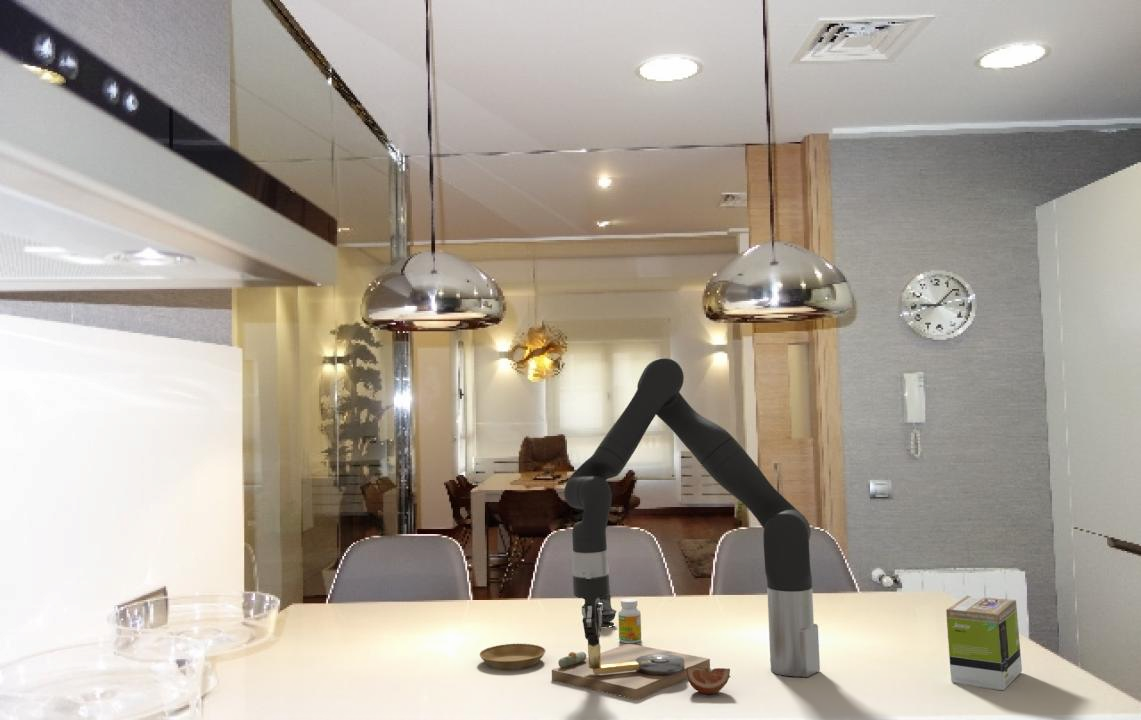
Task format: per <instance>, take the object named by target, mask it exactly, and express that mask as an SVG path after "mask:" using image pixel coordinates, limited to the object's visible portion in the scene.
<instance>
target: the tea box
mask: <svg viewBox="0 0 1141 720" xmlns="http://www.w3.org/2000/svg"><path fill="white" fill-rule="evenodd" d="M945 611H946V627H947V628H946V630H947V641H948V653H949V654H948V655H949V656H948V657H949V669H950V670H949V672H950V681H951V682H952V683H953V684H958V685H964V686H968V687H969V686H970V687H976V688H977V687H978V688H983V689H989V690H995V691H997V690H998V691H1004V690H1005V689H1007V687H1008V686H1009V685H1010V684H1011V683H1012V682H1013V681H1014V680H1015V679H1016V678H1017V677H1018V676H1019V675H1020V674H1021V673H1022V671H1023V666H1022V665H1023V664H1022V655H1021V643H1020V633H1019V620H1018V608H1017V600H1016V599H1006V598H996V597H983V596H971V595H966V596H964V597H963V598H962V599H960V600H959V601H957V602H956V603H954V604H953V605H951V606H950V607H948V608H947V609H946V610H945Z"/></svg>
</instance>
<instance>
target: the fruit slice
mask: <svg viewBox="0 0 1141 720" xmlns="http://www.w3.org/2000/svg"><path fill="white" fill-rule="evenodd" d="M730 672H731V668H721V667H717V668H713V669H707V668H697V667H687V677H688V678H687V680H688V683H689V685H690V686H691V687H692V688H693V690H695V691H697V692H699V693H702V694H706V695H709V694H710V695H711V694H715V693H718V692H720V691H721V690H722V689H723V688H725V686H726V684H727V683H728V682H729V678H731V675H730V674H731V673H730Z"/></svg>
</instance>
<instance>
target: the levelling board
mask: <svg viewBox="0 0 1141 720" xmlns="http://www.w3.org/2000/svg"><path fill="white" fill-rule="evenodd" d="M649 654H671V655H676V656H680V657H682V658H683V659H684V663H685V669H684V670H683V671H681V672H679V673H675V674H668V675H653V674H646V673H642V672H639V671H638V670H635V671H626V672H616V673H607V674H598V675H595V674H594V673H593V669H591V668H589V656H587V654H586V653H585V652H584V651H579V652H575V651H571V652H569V653H568V655H567V656H564V657H561V658H560V659H559V660H558V661H557V662H558V666H559V667H556V668H552V669H551V680H552V681H556V682H560V683H565V684H567V685H568V684H569V685H573V686H577V687H581V688H586V689H589V690H593V689H594V691H597V690H598V692H602V691H603V692H602V693H606V692H608V693H607V694H610V693H612V694H611V695H614V694H616V695H615V696H618V695H621V696H620V697H623V696H625V697H624V698H627V697H629V698H628V699H631V698H633V699H632V700H635V699H637V700H639V699H642V698H644V697H646V695H647V696H649V695H651V694H653V692H654V693H656V692H658V691H660V690H662V689H665V688H668V687H669V686H673V685H675V684H677V683H679V682H682V681H684V680H686V679H688V677H687V667H697V668H707V669H708V670H711V659H710V658H707V657H702V656H697V655H691V654H687V653H686V654H685V653H680V652H676V651H669V650H665V649H660V648H654V647H649V646H644V645H637V644H634V643H624V644H622V645H620V646H618V647H614V648H611V649H609V650H605V651H603V652H600V655H601V665H607V664H616V663H626V662H635V661H636V659H637V658H638V657H641V656H644V655H649ZM648 694H649V695H648ZM643 696H644V697H643ZM641 697H642V698H641ZM638 698H639V699H638Z"/></svg>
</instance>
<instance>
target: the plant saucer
mask: <svg viewBox="0 0 1141 720" xmlns="http://www.w3.org/2000/svg"><path fill="white" fill-rule="evenodd" d="M546 652H547V651H546V648H545V647H542V646H540V645H537V644H531V643H508V644H507V643H505V644H499V645H494V646H490V647H487V648H484V649H483V650H481V651H480V652H479V656H480V658H481V660H482V661H484V663H485V664H487V665H488V666H489V667H490V668H492V669H498V670H521V669H527V668H530V667H533V666H535V665H536V664H538V663H539V662H540V660H541V659H542V657H544V655H545V653H546Z"/></svg>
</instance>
